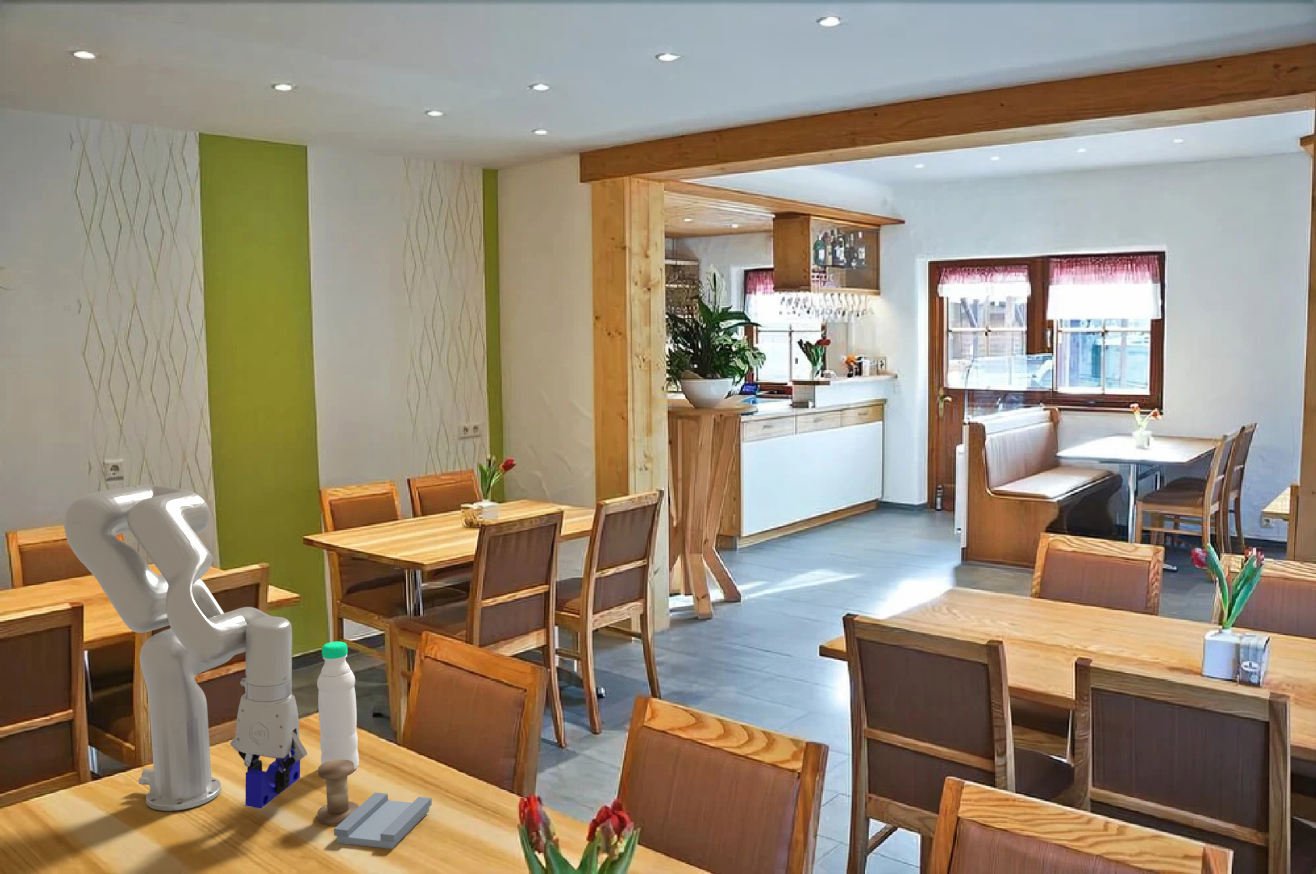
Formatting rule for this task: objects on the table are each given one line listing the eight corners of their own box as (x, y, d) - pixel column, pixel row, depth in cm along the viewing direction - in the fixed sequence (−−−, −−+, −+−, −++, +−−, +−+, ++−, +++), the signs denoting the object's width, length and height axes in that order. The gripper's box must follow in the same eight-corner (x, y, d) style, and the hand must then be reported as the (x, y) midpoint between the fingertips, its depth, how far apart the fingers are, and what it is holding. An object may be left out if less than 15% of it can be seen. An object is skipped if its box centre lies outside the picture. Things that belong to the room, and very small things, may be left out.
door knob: (309, 822, 184) (307, 773, 183) (331, 805, 191) (328, 756, 190) (346, 826, 183) (343, 776, 182) (366, 808, 190) (364, 760, 189)
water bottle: (353, 776, 203) (347, 649, 200) (316, 776, 203) (309, 649, 201) (363, 761, 210) (358, 638, 207) (328, 761, 210) (322, 638, 208)
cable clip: (277, 774, 193) (278, 743, 193) (299, 778, 192) (300, 746, 192) (237, 804, 182) (237, 771, 181) (261, 808, 181) (261, 775, 180)
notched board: (334, 842, 177) (333, 829, 177) (375, 805, 191) (374, 792, 191) (394, 849, 175) (394, 835, 174) (432, 811, 188) (431, 798, 188)
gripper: (212, 689, 182) (212, 789, 185) (300, 703, 179) (299, 805, 181) (239, 675, 190) (239, 771, 192) (324, 688, 186) (323, 786, 188)
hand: (268, 787), depth 187 cm, fingers closed on cable clip, 4 cm apart
